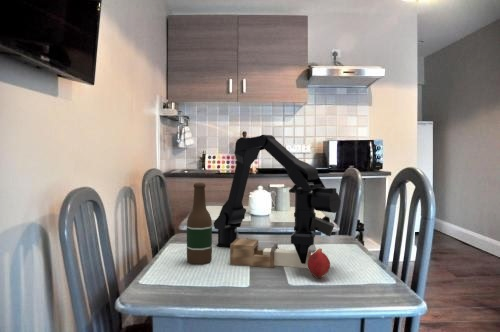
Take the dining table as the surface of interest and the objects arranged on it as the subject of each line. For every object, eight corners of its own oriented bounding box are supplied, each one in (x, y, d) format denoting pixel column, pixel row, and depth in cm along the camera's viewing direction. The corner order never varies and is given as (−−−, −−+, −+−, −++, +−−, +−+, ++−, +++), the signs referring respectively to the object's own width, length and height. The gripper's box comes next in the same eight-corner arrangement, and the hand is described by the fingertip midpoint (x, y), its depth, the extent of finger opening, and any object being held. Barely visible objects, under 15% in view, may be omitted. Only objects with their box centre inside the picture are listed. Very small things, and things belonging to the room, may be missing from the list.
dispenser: (230, 264, 107) (230, 244, 107) (236, 257, 115) (236, 238, 114) (273, 267, 104) (273, 247, 104) (277, 259, 112) (277, 240, 112)
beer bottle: (216, 259, 112) (217, 182, 111) (203, 266, 105) (203, 184, 104) (195, 256, 115) (195, 181, 114) (181, 263, 108) (181, 183, 107)
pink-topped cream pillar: (262, 264, 107) (262, 251, 107) (265, 260, 111) (265, 247, 110) (310, 268, 104) (310, 254, 104) (311, 263, 108) (311, 250, 108)
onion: (316, 283, 92) (316, 252, 91) (303, 276, 97) (303, 247, 96) (334, 279, 94) (334, 249, 94) (320, 273, 99) (320, 244, 99)
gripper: (333, 215, 95) (332, 273, 95) (332, 205, 113) (331, 254, 113) (290, 213, 97) (290, 270, 98) (296, 204, 115) (296, 252, 116)
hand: (303, 261), depth 106 cm, fingers closed on pink-topped cream pillar, 4 cm apart
